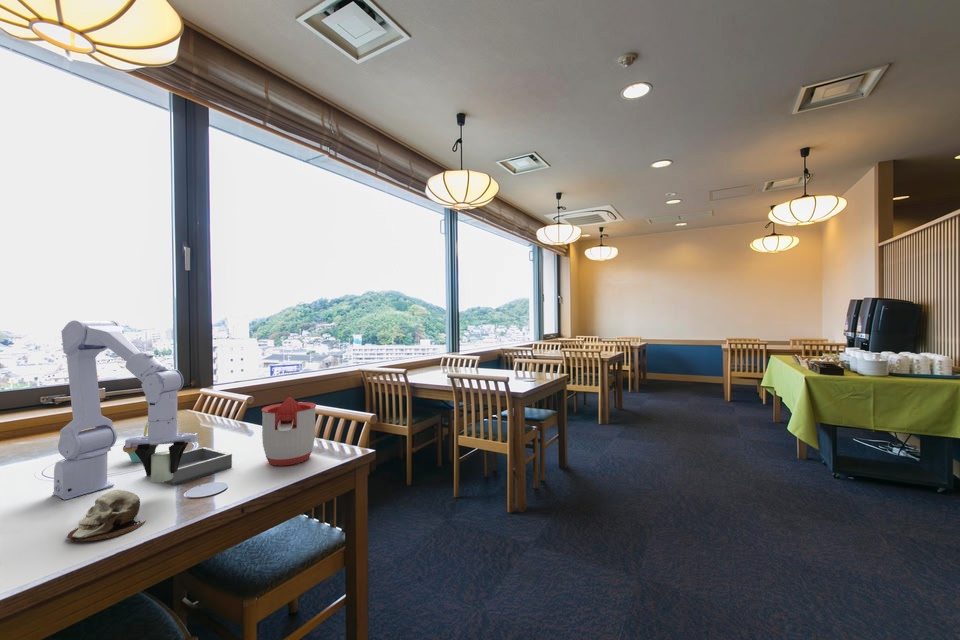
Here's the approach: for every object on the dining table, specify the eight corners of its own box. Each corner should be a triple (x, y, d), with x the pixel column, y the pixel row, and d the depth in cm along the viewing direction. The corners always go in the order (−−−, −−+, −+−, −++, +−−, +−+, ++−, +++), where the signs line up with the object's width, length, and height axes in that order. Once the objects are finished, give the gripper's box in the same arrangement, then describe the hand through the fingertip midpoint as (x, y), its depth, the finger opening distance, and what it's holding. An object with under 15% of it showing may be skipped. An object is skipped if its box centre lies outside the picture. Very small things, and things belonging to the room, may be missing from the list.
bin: (173, 485, 104) (173, 470, 104) (146, 475, 111) (146, 461, 111) (231, 467, 117) (231, 454, 117) (204, 459, 124) (204, 446, 124)
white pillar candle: (155, 484, 95) (156, 457, 95) (147, 480, 97) (147, 454, 97) (176, 477, 99) (177, 452, 99) (168, 474, 101) (168, 449, 101)
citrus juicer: (254, 474, 112) (254, 404, 112) (266, 455, 128) (267, 394, 128) (313, 467, 116) (313, 401, 117) (318, 450, 133) (318, 391, 133)
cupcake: (165, 456, 128) (165, 419, 128) (140, 465, 119) (140, 426, 119) (141, 455, 128) (142, 418, 128) (115, 464, 120) (115, 425, 120)
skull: (85, 546, 73) (68, 500, 76) (69, 572, 77) (52, 526, 80) (160, 516, 84) (142, 476, 87) (142, 540, 88) (126, 500, 90)
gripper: (118, 424, 92) (117, 482, 92) (190, 420, 96) (189, 475, 96) (134, 418, 99) (133, 471, 98) (201, 414, 103) (200, 465, 103)
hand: (162, 473), depth 98 cm, fingers closed on white pillar candle, 4 cm apart
